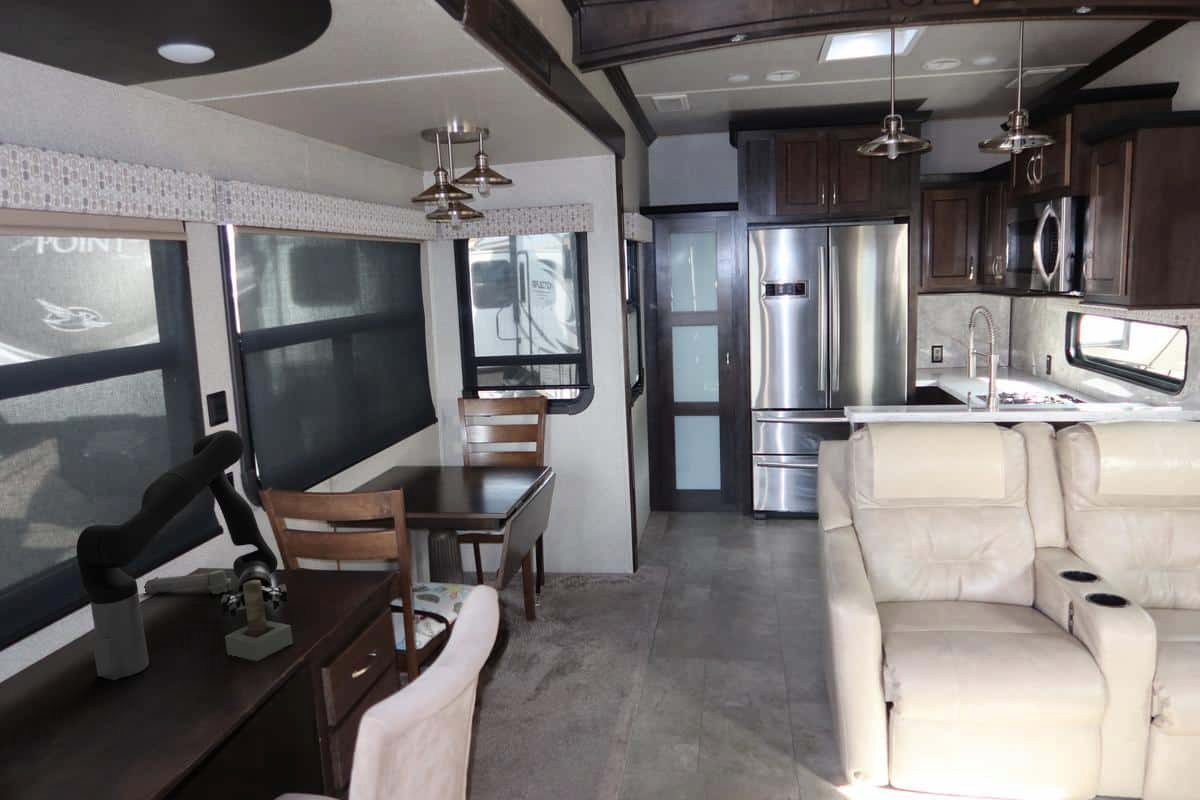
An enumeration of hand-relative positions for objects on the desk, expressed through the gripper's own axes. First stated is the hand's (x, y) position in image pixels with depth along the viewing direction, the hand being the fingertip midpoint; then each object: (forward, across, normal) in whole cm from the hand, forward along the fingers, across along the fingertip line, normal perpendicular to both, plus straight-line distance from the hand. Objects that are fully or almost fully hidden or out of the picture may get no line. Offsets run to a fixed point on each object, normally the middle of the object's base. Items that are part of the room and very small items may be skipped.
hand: (254, 609), depth 194 cm
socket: (-2, 0, +10) cm, 11 cm away
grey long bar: (-52, -19, +11) cm, 56 cm away
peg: (-2, 0, +10) cm, 11 cm away
